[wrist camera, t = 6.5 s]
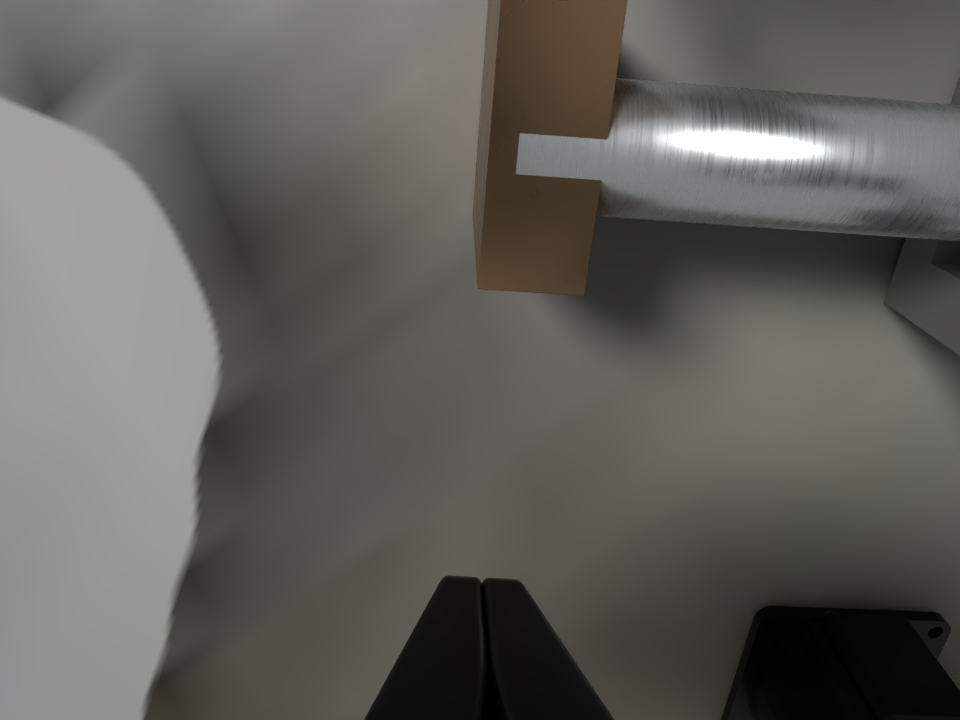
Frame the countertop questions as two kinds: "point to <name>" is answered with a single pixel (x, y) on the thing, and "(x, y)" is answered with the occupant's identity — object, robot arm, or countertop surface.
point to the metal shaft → (679, 152)
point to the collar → (929, 284)
